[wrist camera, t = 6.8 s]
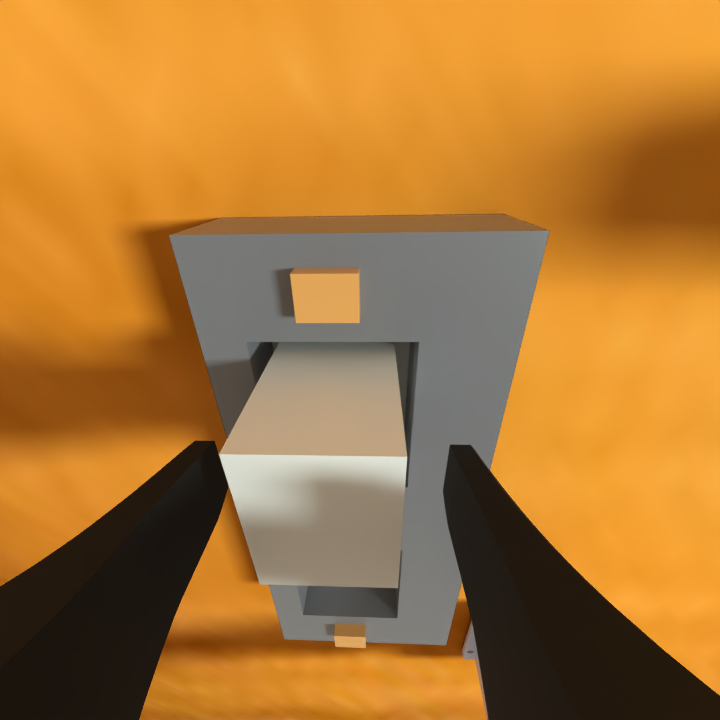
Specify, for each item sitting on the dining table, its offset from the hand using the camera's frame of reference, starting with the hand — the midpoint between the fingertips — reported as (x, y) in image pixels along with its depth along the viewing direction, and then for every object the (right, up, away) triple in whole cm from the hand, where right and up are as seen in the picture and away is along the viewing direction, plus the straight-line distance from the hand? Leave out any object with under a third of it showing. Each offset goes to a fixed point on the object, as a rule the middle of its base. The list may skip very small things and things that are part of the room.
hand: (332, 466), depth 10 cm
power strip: (+1, -2, +7) cm, 8 cm away
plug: (0, +2, +4) cm, 4 cm away
